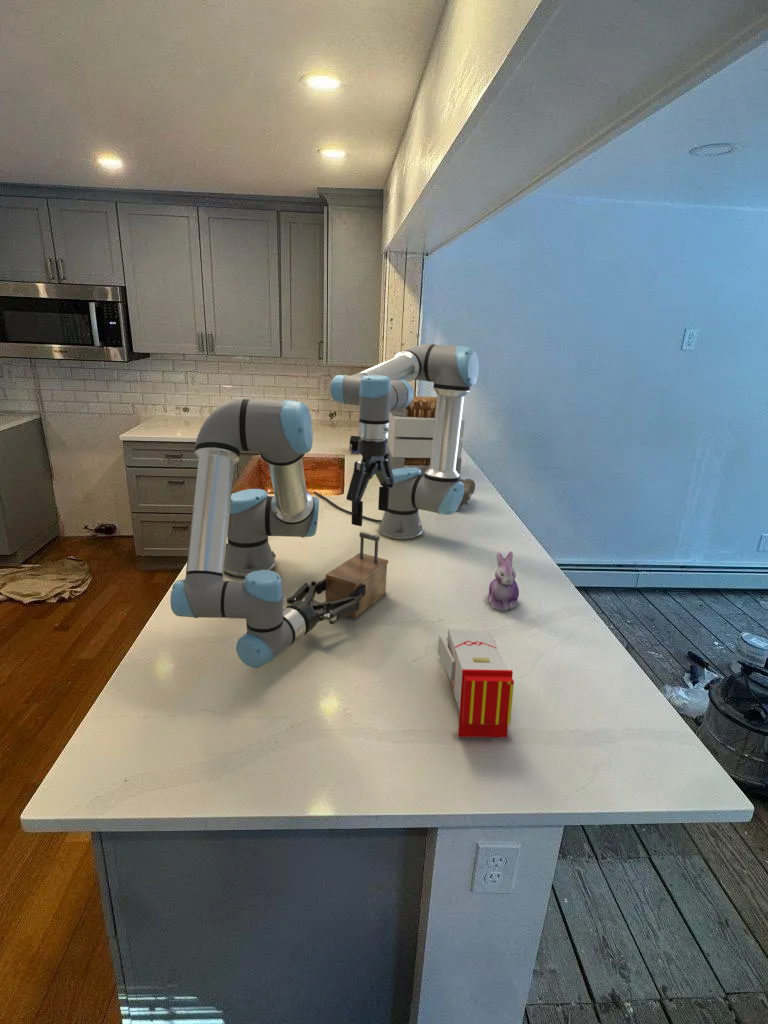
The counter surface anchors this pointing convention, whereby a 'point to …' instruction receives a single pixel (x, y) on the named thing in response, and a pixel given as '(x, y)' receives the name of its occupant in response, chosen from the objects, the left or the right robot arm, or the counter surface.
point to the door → (359, 564)
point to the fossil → (467, 491)
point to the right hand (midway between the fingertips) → (370, 517)
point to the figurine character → (354, 444)
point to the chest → (342, 590)
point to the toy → (478, 682)
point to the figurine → (503, 584)
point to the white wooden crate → (415, 434)
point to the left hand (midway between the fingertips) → (348, 584)
